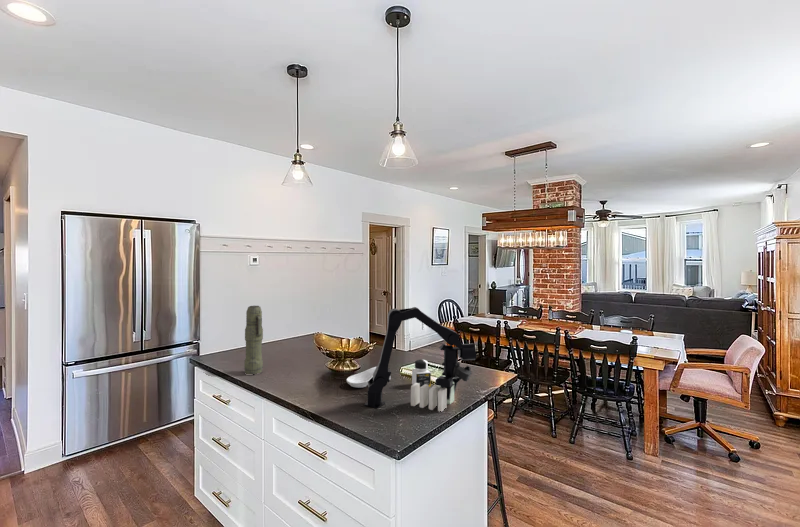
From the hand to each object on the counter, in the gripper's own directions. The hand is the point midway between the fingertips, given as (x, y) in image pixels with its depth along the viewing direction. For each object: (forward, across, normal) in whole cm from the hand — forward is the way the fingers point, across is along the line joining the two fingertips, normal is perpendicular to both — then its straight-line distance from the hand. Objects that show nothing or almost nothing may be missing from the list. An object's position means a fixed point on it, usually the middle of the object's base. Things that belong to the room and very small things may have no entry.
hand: (450, 397), depth 161 cm
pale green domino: (+2, 0, 0) cm, 2 cm away
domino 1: (+2, -9, +12) cm, 15 cm away
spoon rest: (+2, +4, +43) cm, 44 cm away
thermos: (+2, -11, +105) cm, 106 cm away
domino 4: (+2, -9, 0) cm, 9 cm away
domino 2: (+2, -9, +8) cm, 12 cm away
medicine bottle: (+2, +14, +20) cm, 25 cm away
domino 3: (+2, -9, +4) cm, 10 cm away
